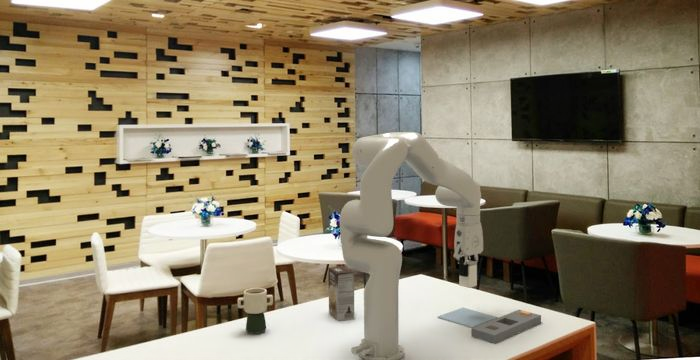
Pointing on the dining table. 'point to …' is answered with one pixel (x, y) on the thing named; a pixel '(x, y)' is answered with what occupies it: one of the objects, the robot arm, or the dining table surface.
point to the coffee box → (341, 293)
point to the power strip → (505, 326)
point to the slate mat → (467, 317)
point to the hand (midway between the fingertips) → (468, 274)
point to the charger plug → (469, 275)
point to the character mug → (255, 308)
